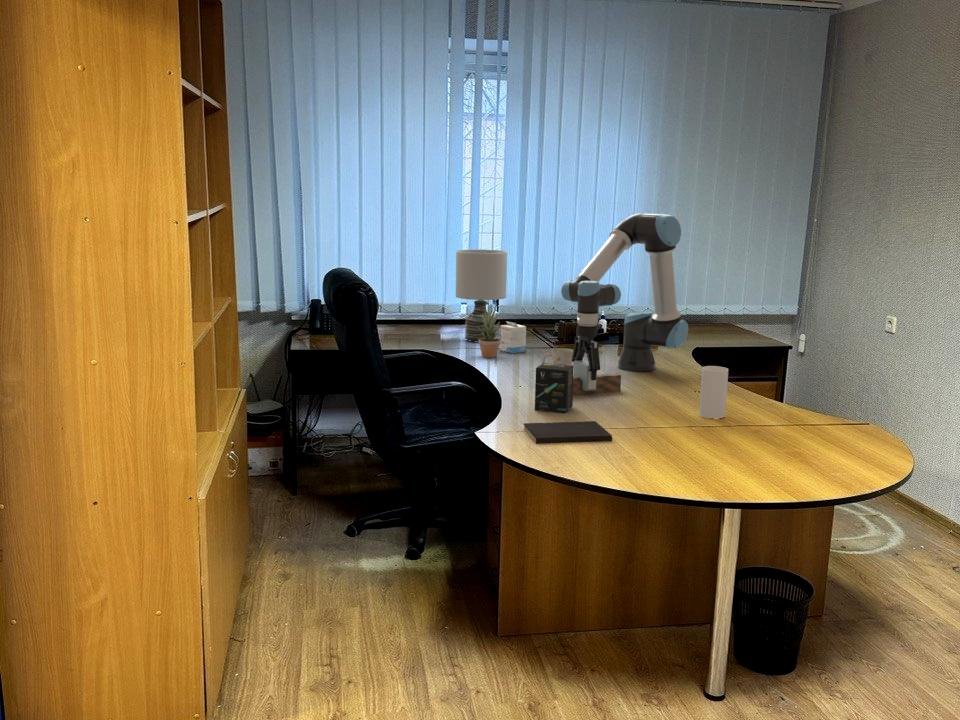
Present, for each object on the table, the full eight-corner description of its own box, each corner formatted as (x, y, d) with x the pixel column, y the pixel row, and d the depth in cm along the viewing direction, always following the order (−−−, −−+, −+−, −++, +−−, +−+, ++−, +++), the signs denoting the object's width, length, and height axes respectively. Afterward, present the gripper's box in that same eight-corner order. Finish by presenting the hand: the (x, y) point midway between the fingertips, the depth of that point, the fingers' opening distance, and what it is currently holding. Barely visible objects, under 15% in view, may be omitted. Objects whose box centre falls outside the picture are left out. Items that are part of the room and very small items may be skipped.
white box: (526, 352, 396) (527, 322, 394) (511, 353, 392) (512, 323, 389) (514, 348, 403) (515, 319, 401) (499, 350, 399) (500, 321, 396)
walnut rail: (616, 389, 326) (617, 373, 325) (620, 391, 324) (621, 375, 323) (547, 394, 316) (548, 377, 315) (551, 396, 314) (551, 379, 313)
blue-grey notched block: (583, 384, 325) (584, 360, 323) (596, 390, 316) (597, 365, 314) (573, 384, 324) (574, 360, 322) (586, 390, 314) (587, 366, 313)
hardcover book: (523, 430, 271) (523, 423, 271) (595, 428, 275) (595, 421, 275) (535, 445, 256) (536, 438, 255) (612, 443, 260) (612, 435, 259)
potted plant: (495, 353, 391) (497, 298, 386) (503, 357, 382) (504, 300, 377) (474, 354, 388) (475, 298, 383) (481, 358, 379) (482, 301, 374)
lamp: (505, 345, 413) (507, 253, 404) (453, 343, 413) (455, 252, 405) (504, 336, 436) (506, 249, 428) (455, 335, 436) (457, 248, 428)
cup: (710, 420, 285) (714, 371, 282) (693, 414, 292) (697, 367, 289) (730, 417, 289) (733, 369, 286) (712, 412, 296) (716, 365, 293)
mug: (571, 377, 345) (572, 352, 343) (539, 375, 347) (540, 350, 345) (573, 373, 353) (574, 348, 351) (542, 371, 355) (543, 347, 353)
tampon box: (572, 407, 299) (574, 364, 296) (566, 413, 290) (567, 370, 287) (541, 404, 302) (542, 362, 299) (534, 410, 294) (535, 367, 291)
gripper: (563, 320, 324) (561, 379, 329) (593, 329, 304) (590, 393, 308) (582, 319, 327) (579, 378, 331) (612, 329, 306) (609, 391, 311)
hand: (584, 385), depth 320 cm, fingers closed on blue-grey notched block, 10 cm apart
